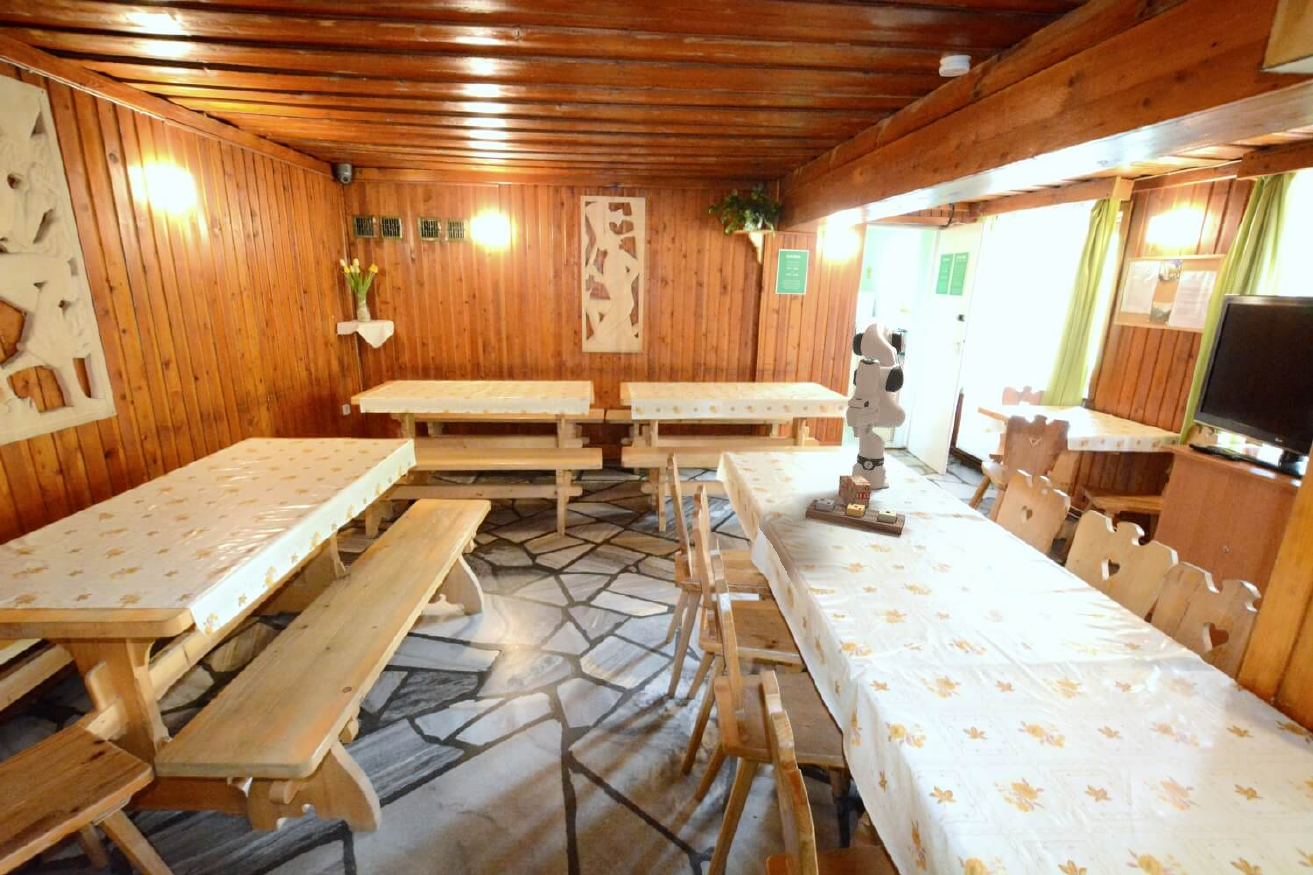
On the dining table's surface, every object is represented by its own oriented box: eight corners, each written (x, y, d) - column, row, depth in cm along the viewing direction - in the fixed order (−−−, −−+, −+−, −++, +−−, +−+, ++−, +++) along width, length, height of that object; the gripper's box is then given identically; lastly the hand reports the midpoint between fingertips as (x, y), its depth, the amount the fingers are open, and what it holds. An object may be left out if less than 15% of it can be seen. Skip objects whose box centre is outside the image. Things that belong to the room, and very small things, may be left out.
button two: (818, 507, 242) (819, 497, 241) (833, 509, 239) (834, 500, 238) (815, 511, 237) (816, 502, 236) (830, 514, 234) (831, 504, 233)
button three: (848, 512, 237) (849, 502, 236) (864, 515, 234) (865, 505, 233) (846, 517, 231) (847, 507, 230) (861, 520, 229) (862, 510, 228)
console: (813, 506, 247) (814, 499, 246) (904, 522, 231) (905, 515, 230) (805, 517, 235) (806, 510, 234) (901, 534, 219) (901, 527, 218)
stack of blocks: (837, 494, 262) (840, 468, 259) (851, 494, 262) (854, 468, 259) (853, 512, 241) (856, 484, 238) (868, 512, 241) (871, 484, 238)
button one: (879, 517, 231) (880, 508, 230) (895, 520, 229) (897, 510, 228) (877, 523, 226) (878, 512, 225) (894, 526, 223) (895, 515, 222)
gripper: (870, 397, 235) (866, 430, 238) (845, 402, 221) (842, 437, 224) (885, 399, 231) (881, 433, 234) (861, 404, 217) (857, 440, 220)
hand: (862, 435), depth 229 cm, fingers open, 8 cm apart
